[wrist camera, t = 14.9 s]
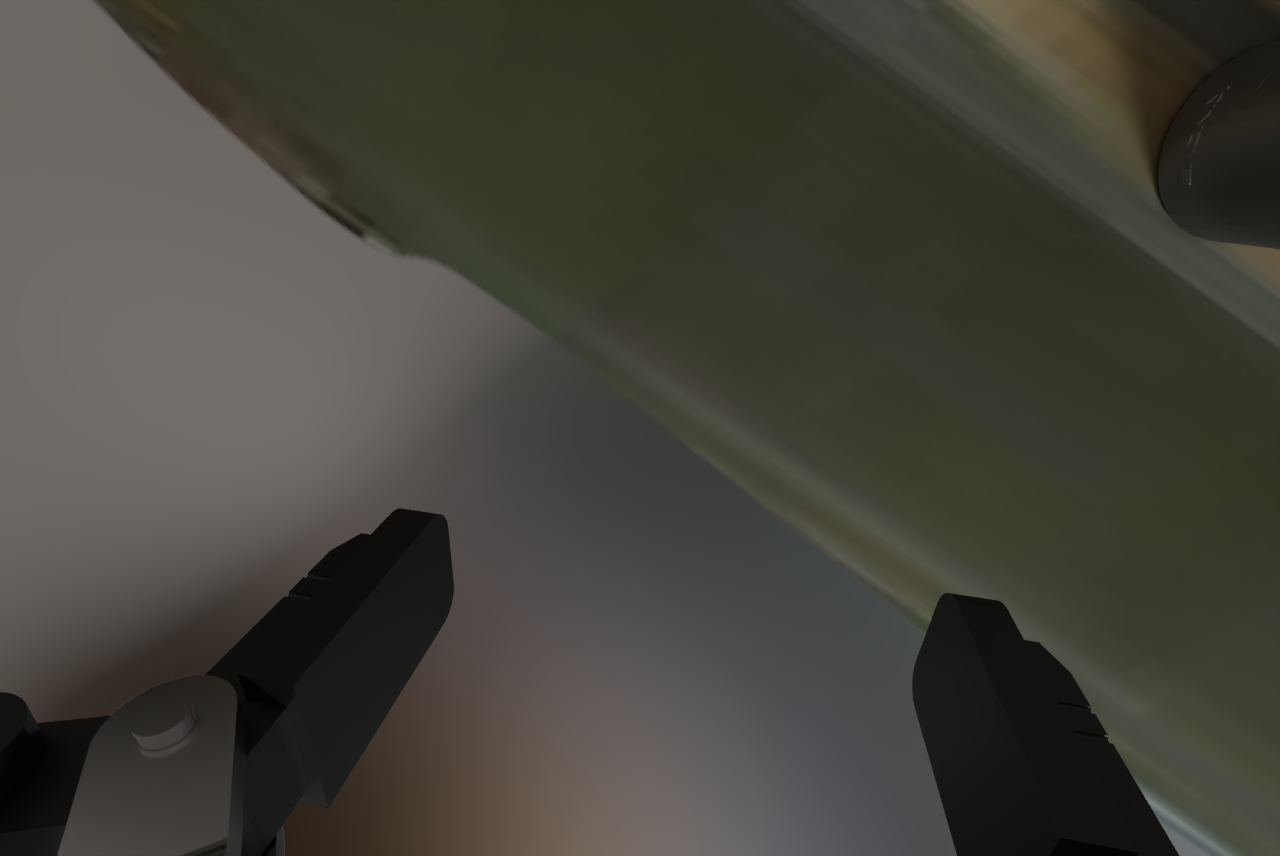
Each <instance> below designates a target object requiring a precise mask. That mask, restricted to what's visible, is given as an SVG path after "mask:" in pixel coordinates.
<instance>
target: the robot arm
mask: <svg viewBox="0 0 1280 856" xmlns="http://www.w3.org/2000/svg"><path fill="white" fill-rule="evenodd" d="M1158 185H1159V190H1160V196H1161V200H1162V202H1163V204H1164V206H1165V208H1166V211H1167V213H1168V214H1169V216H1170V217H1171V218H1172V219H1173V220H1174V221H1175V222H1176V224H1177V225H1178V226H1179V227H1181V228H1182V229H1184V230H1185V231H1187V232H1189V233H1190V234H1192V235H1194V236H1197V237H1200V238H1203V239H1207V240H1210V241H1218V242H1226V243H1234V244H1242V245H1250V246H1259V247H1267V248H1274V249H1280V40H1278V41H1273V42H1270V43H1267V44H1265V45H1262V46H1259V47H1256V48H1253V49H1250V50H1248V51H1247V52H1245V53H1243V54H1241V55H1239V56H1238V57H1236V58H1234V59H1232V60H1230V61H1229V62H1227V63H1226V64H1224V65H1223V66H1222V67H1221V68H1219V69H1218V70H1217V71H1215V72H1214V73H1213V74H1212V75H1210V76H1209V77H1208V78H1207V79H1206V80H1205V81H1204V82H1203V83H1202V84H1201V85H1200V86H1199V87H1198V88H1197V89H1196V90H1195V91H1194V92H1193V94H1192V95H1191V96H1190V97H1189V98H1188V99H1187V101H1186V102H1185V104H1184V105H1183V107H1182V108H1181V110H1180V111H1179V112H1178V114H1177V115H1176V117H1175V118H1174V121H1173V123H1172V125H1171V127H1170V129H1169V131H1168V133H1167V135H1166V138H1165V140H1164V144H1163V147H1162V151H1161V155H1160V158H1159V169H1158ZM453 593H454V582H453V571H452V561H451V552H450V541H449V531H448V524H447V520H446V518H445V517H444V516H443V515H441V514H433V513H428V512H421V511H414V510H407V509H396V510H395V511H393V512H392V513H391V514H390V515H389V516H388V517H387V518H386V519H385V520H384V521H383V522H382V523H381V524H380V525H379V527H378V528H377V529H376V530H375V531H374V532H373V533H372V534H371V535H369V534H362V533H361V534H360V535H358V536H356V537H354V538H352V539H350V540H349V541H347V542H345V543H343V544H342V545H340V546H338V547H336V548H334V549H333V550H331V551H330V552H329V553H328V554H327V555H326V556H325V557H324V558H323V559H322V560H321V561H320V562H319V563H318V564H317V565H316V566H315V567H314V568H313V569H311V570H310V571H309V573H308V576H307V578H304V577H303V578H302V579H301V580H300V581H299V582H298V583H297V584H296V585H295V586H294V587H293V588H292V590H290V591H289V596H288V597H283V598H282V599H281V600H280V601H279V602H278V603H277V604H276V605H275V606H274V607H273V608H272V609H271V610H270V611H269V612H268V613H267V614H266V615H265V616H264V617H263V618H262V619H261V620H260V621H259V622H258V623H257V624H256V625H255V626H254V627H253V628H252V629H251V630H250V631H249V632H248V633H247V634H246V635H245V636H244V637H243V638H242V639H241V640H240V641H239V642H238V643H237V644H236V645H235V646H234V647H233V648H232V649H231V650H230V651H229V652H228V653H227V654H226V655H225V656H224V657H223V658H222V659H221V660H220V661H219V662H218V663H217V664H216V665H215V666H214V667H213V668H212V669H211V670H210V671H208V672H207V673H206V674H205V675H193V676H186V677H181V678H177V679H173V680H170V681H167V682H164V683H161V684H159V685H157V686H154V687H152V688H150V689H148V690H146V691H144V692H143V693H141V694H139V695H137V696H135V697H134V698H133V699H131V700H129V701H128V702H127V703H125V704H124V705H122V706H121V707H120V708H119V709H117V710H116V711H115V712H114V713H113V714H112V715H111V716H103V717H94V718H84V719H74V720H65V721H56V722H45V723H36V721H35V719H34V717H33V715H32V713H31V712H30V710H29V708H28V707H27V705H26V703H25V702H24V701H23V700H22V698H20V697H18V696H16V695H14V694H10V693H3V692H0V856H284V832H283V828H282V825H283V824H284V822H285V821H286V819H287V818H288V816H289V815H290V813H291V812H292V810H293V809H294V807H295V806H296V804H297V803H298V802H302V803H306V804H311V805H316V806H320V807H325V808H329V806H330V805H331V803H332V802H333V800H334V798H335V797H336V795H337V793H338V792H339V790H340V789H341V787H342V786H343V784H344V782H345V781H346V779H347V778H348V776H349V774H350V773H351V771H352V770H353V768H354V767H355V765H356V763H357V762H358V760H359V759H360V757H361V755H362V754H363V752H364V751H365V749H366V747H367V746H368V744H369V742H370V741H371V739H372V738H373V736H374V735H375V733H376V731H377V730H378V728H379V727H380V725H381V723H382V722H383V720H384V719H385V717H386V715H387V714H388V712H389V711H390V709H391V707H392V706H393V704H394V702H395V701H396V699H397V698H398V696H399V695H400V693H401V691H402V690H403V688H404V687H405V685H406V683H407V682H408V680H409V679H410V677H411V675H412V674H413V672H414V671H415V669H416V667H417V666H418V664H419V663H420V661H421V659H422V658H423V656H424V655H425V653H426V652H427V650H428V648H429V647H430V645H431V644H432V642H433V640H434V639H435V637H436V635H437V634H438V632H439V631H440V629H441V627H442V626H443V624H444V623H445V621H446V618H447V616H448V614H449V611H450V608H451V604H452V600H453ZM912 690H913V691H912V692H913V701H914V706H915V710H916V713H917V717H918V720H919V724H920V727H921V731H922V734H923V738H924V741H925V745H926V748H927V752H928V755H929V759H930V762H931V766H932V769H933V773H934V776H935V780H936V783H937V787H938V790H939V794H940V797H941V801H942V804H943V808H944V811H945V815H946V818H947V821H948V825H949V829H950V832H951V836H952V839H953V843H954V846H955V850H956V853H957V856H1179V854H1178V853H1177V851H1176V849H1175V848H1174V846H1173V845H1172V843H1171V841H1170V839H1169V837H1168V836H1167V834H1166V832H1165V831H1164V829H1163V827H1162V826H1161V824H1160V822H1159V821H1158V819H1157V817H1156V816H1155V814H1154V812H1153V811H1152V809H1151V807H1150V805H1149V804H1148V802H1147V800H1146V799H1145V797H1144V795H1143V794H1142V792H1141V790H1140V789H1139V787H1138V785H1137V784H1136V782H1135V780H1134V779H1133V777H1132V775H1131V774H1130V772H1129V770H1128V768H1127V767H1126V765H1125V763H1124V762H1123V760H1122V758H1121V757H1120V755H1119V753H1118V752H1117V750H1116V748H1115V747H1114V745H1113V744H1111V743H1109V742H1108V735H1107V733H1106V731H1105V730H1104V728H1103V726H1102V725H1101V723H1100V721H1099V720H1098V718H1097V716H1096V715H1095V714H1092V713H1091V706H1090V705H1089V703H1088V701H1087V699H1086V698H1085V696H1084V694H1083V693H1082V691H1081V689H1080V688H1079V686H1078V684H1077V683H1076V681H1075V679H1074V678H1073V676H1072V674H1071V673H1070V672H1069V671H1068V670H1067V669H1066V668H1065V667H1064V666H1063V665H1062V664H1061V663H1060V662H1059V661H1058V660H1057V659H1056V658H1055V657H1053V656H1052V655H1051V654H1050V653H1049V652H1048V651H1047V650H1046V649H1045V648H1044V647H1043V646H1042V645H1041V644H1040V643H1039V642H1033V641H1027V640H1024V639H1023V637H1022V635H1021V633H1020V632H1019V630H1018V628H1017V626H1016V624H1015V622H1014V620H1013V619H1012V617H1011V615H1010V613H1009V611H1008V609H1007V608H1006V606H1005V605H1004V604H1003V603H1002V602H1000V601H997V600H990V599H984V598H977V597H971V596H964V595H958V594H951V593H945V594H943V595H942V596H941V597H940V599H939V601H938V603H937V606H936V608H935V611H934V614H933V616H932V619H931V622H930V625H929V627H928V630H927V633H926V635H925V638H924V641H923V644H922V646H921V649H920V652H919V654H918V657H917V660H916V663H915V666H914V672H913V680H912Z"/></svg>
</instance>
